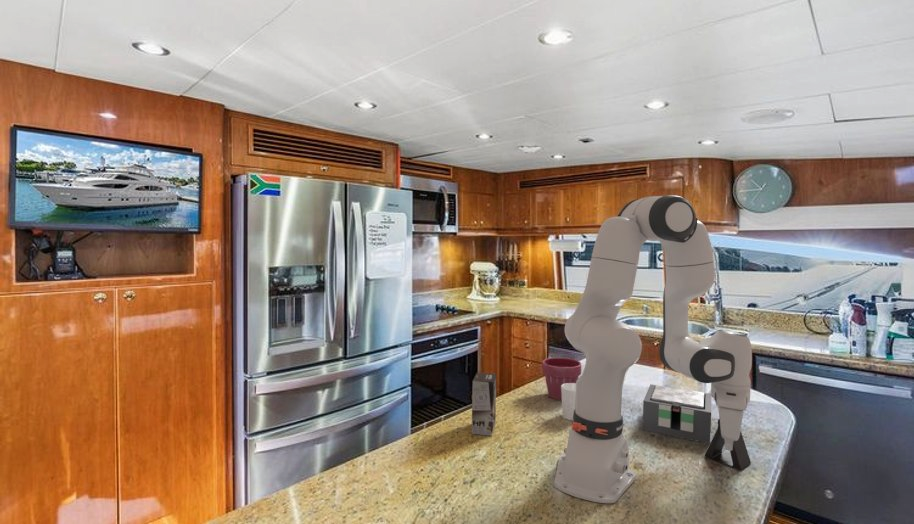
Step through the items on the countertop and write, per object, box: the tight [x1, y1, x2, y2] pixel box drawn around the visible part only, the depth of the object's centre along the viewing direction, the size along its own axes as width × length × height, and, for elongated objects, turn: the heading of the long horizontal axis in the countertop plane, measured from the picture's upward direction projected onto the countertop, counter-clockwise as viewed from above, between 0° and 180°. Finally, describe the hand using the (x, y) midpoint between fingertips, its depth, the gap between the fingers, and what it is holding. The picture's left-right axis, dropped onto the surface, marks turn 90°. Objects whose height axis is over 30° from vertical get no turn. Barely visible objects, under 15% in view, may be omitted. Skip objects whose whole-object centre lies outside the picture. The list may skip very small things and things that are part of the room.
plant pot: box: [541, 357, 582, 401], centre depth 166 cm, size 14×14×13 cm
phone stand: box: [704, 418, 752, 471], centre depth 119 cm, size 9×6×12 cm, turn 36°
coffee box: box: [471, 372, 497, 437], centre depth 137 cm, size 9×6×16 cm
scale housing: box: [642, 383, 712, 444], centre depth 141 cm, size 18×18×9 cm
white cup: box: [561, 383, 576, 422], centre depth 147 cm, size 8×8×10 cm
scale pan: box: [651, 384, 705, 409], centre depth 139 cm, size 17×14×1 cm
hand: (727, 443), depth 119 cm, fingers closed on phone stand, 6 cm apart
